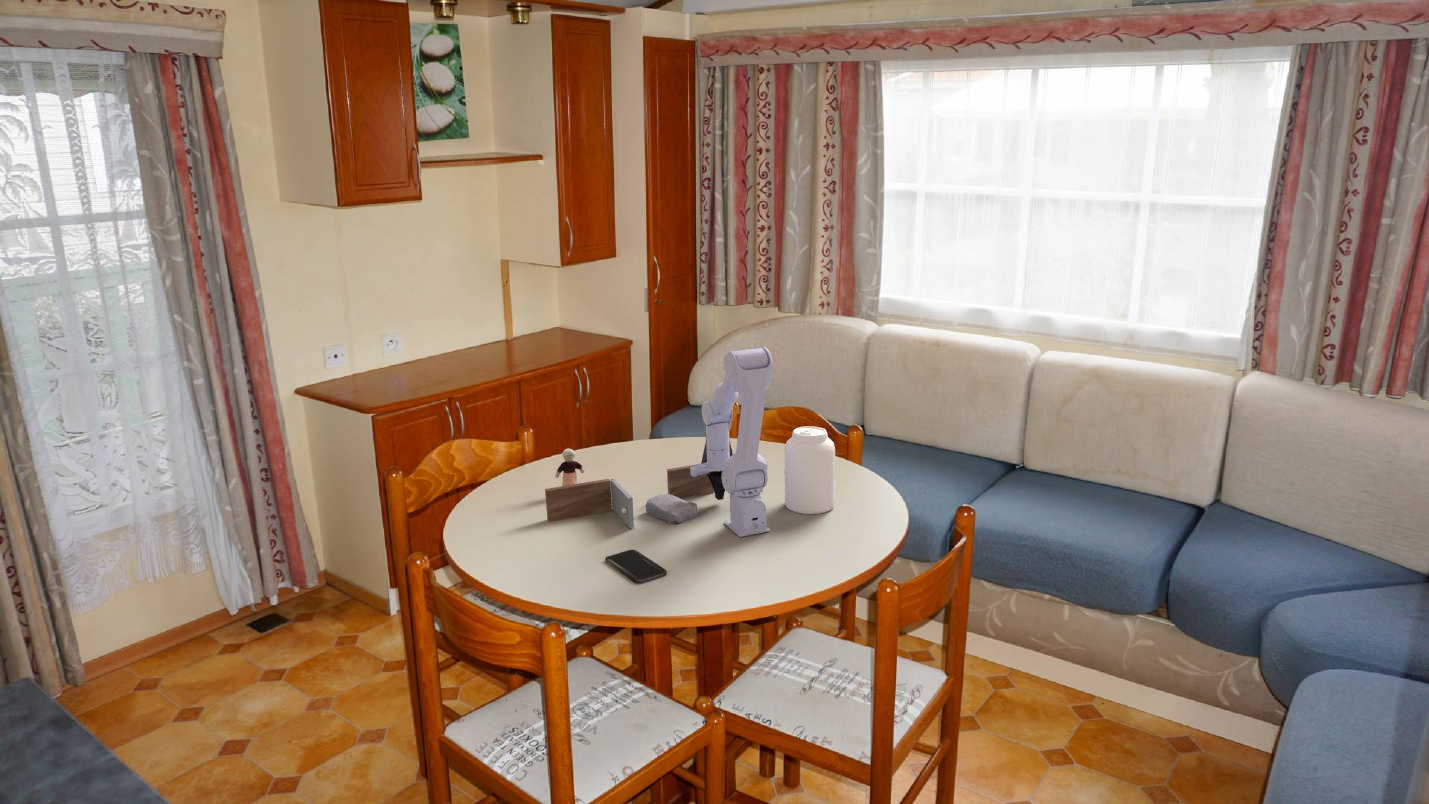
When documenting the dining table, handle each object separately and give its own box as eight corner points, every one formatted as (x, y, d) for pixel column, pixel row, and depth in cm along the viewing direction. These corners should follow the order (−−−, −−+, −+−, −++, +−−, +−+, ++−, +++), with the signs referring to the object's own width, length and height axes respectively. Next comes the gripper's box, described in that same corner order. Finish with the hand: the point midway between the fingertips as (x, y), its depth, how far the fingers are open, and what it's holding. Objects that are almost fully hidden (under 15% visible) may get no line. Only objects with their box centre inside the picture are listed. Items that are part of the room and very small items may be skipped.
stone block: (670, 510, 252) (641, 513, 245) (673, 492, 252) (643, 495, 244) (702, 523, 244) (673, 528, 237) (705, 505, 244) (676, 508, 236)
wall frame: (713, 492, 258) (713, 463, 256) (548, 521, 242) (546, 490, 240) (711, 490, 259) (710, 462, 257) (547, 519, 243) (544, 489, 241)
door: (606, 508, 248) (605, 480, 246) (615, 506, 249) (613, 478, 247) (624, 529, 235) (623, 499, 233) (633, 527, 236) (632, 497, 234)
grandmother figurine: (561, 499, 256) (558, 453, 252) (555, 495, 259) (551, 449, 256) (588, 493, 260) (585, 447, 256) (581, 489, 263) (578, 443, 260)
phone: (637, 581, 207) (603, 557, 219) (637, 586, 207) (603, 562, 219) (669, 571, 211) (634, 548, 223) (669, 576, 212) (634, 553, 224)
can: (809, 519, 239) (809, 441, 234) (774, 505, 248) (773, 429, 243) (845, 506, 247) (846, 430, 241) (809, 493, 256) (809, 419, 251)
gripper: (738, 439, 252) (739, 488, 256) (685, 447, 247) (686, 497, 250) (749, 446, 246) (750, 497, 249) (695, 455, 240) (697, 507, 244)
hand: (719, 498), depth 249 cm, fingers closed
